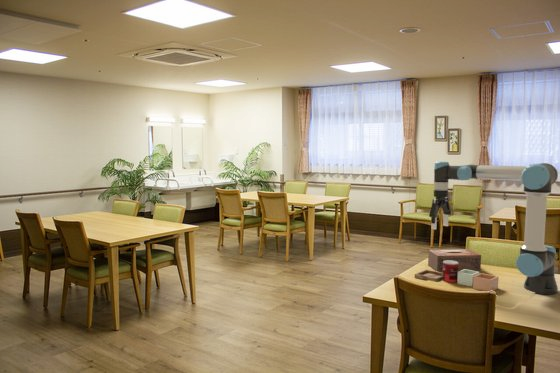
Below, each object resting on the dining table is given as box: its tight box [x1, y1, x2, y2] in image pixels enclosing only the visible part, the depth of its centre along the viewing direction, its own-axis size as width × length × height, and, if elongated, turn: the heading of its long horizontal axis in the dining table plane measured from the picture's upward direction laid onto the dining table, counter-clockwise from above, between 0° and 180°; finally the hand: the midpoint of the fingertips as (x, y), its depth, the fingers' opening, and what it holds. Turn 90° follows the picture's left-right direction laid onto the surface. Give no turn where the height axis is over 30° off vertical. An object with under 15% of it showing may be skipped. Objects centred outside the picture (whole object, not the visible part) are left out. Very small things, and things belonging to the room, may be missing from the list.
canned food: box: [442, 260, 458, 284], centre depth 258 cm, size 8×8×11 cm
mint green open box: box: [456, 269, 480, 288], centre depth 253 cm, size 8×8×7 cm
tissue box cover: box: [427, 248, 482, 272], centre depth 284 cm, size 26×14×10 cm, turn 93°
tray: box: [414, 269, 443, 282], centre depth 266 cm, size 13×13×2 cm
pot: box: [472, 272, 499, 292], centre depth 244 cm, size 9×9×7 cm
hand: (439, 227), depth 266 cm, fingers open, 13 cm apart
